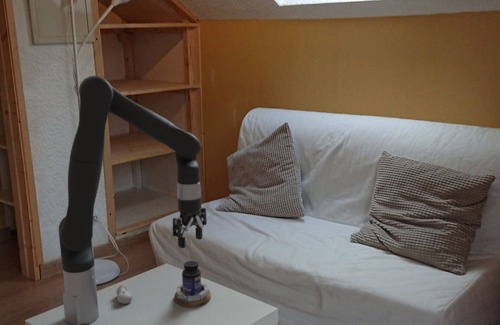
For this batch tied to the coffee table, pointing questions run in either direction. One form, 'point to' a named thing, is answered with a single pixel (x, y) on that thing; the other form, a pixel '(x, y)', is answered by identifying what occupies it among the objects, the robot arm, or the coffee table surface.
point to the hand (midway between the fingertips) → (190, 243)
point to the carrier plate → (193, 304)
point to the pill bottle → (191, 278)
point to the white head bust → (123, 295)
